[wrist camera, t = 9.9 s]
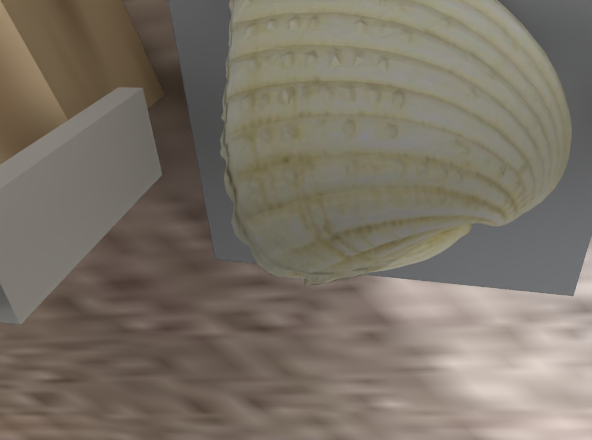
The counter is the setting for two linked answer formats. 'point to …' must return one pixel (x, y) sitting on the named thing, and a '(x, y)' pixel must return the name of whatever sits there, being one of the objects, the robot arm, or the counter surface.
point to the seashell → (383, 129)
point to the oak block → (64, 64)
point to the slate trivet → (482, 238)
